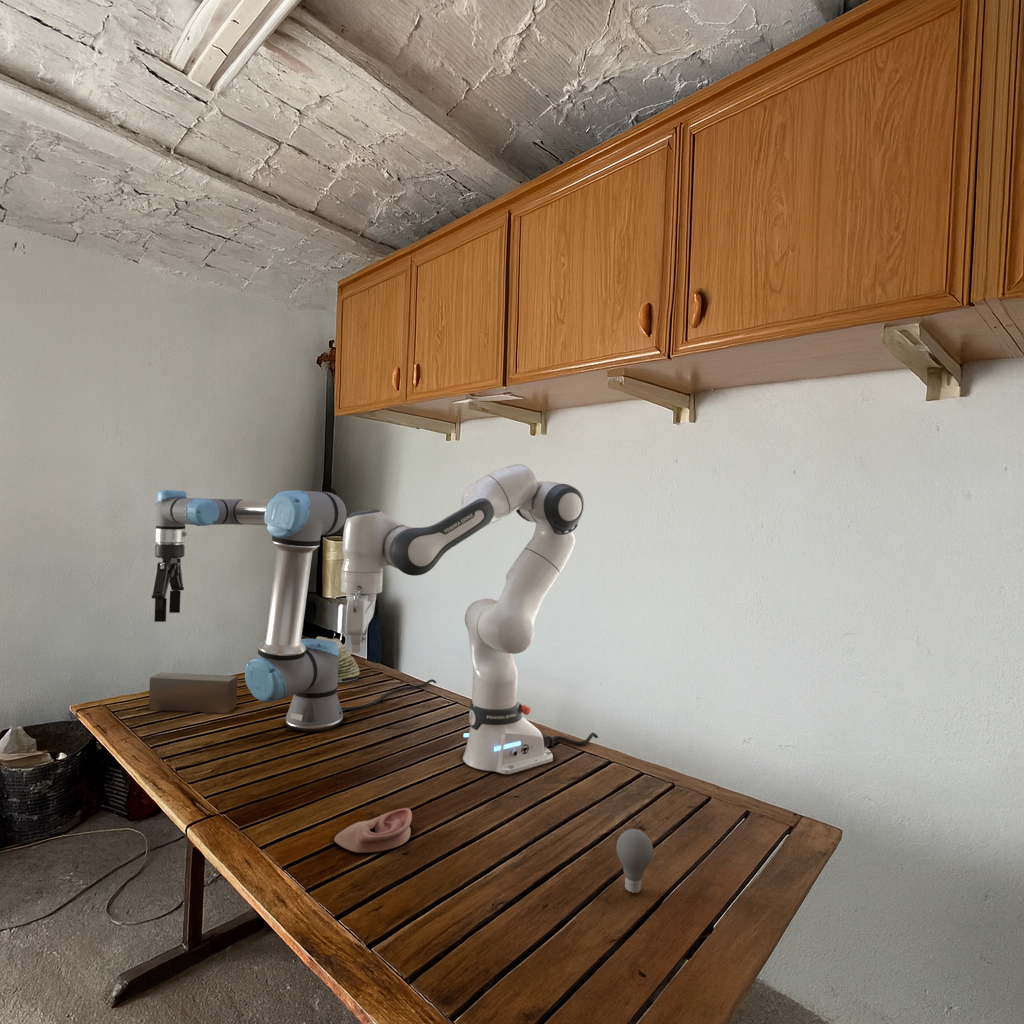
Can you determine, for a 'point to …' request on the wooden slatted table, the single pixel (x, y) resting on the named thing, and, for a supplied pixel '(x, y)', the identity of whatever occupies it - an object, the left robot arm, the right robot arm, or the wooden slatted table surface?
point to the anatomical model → (377, 832)
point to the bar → (193, 692)
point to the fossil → (345, 663)
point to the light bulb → (634, 857)
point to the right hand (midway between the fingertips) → (359, 646)
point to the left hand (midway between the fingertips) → (167, 617)
